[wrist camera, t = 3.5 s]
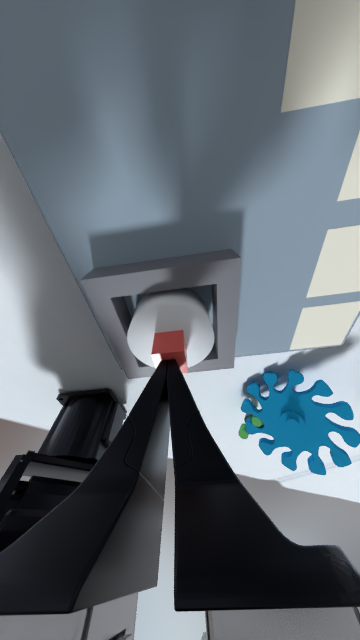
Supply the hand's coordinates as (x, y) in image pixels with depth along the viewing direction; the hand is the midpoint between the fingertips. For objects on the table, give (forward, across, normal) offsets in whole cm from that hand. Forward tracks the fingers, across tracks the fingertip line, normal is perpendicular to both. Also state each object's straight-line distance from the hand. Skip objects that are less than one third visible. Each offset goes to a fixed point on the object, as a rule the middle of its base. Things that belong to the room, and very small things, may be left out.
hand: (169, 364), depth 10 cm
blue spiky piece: (+6, -10, +13) cm, 17 cm away
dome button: (+4, 0, 0) cm, 4 cm away
